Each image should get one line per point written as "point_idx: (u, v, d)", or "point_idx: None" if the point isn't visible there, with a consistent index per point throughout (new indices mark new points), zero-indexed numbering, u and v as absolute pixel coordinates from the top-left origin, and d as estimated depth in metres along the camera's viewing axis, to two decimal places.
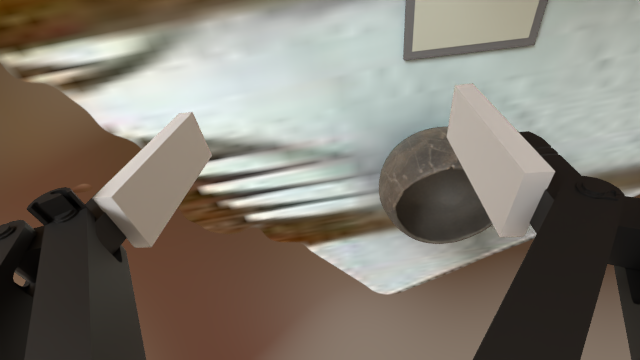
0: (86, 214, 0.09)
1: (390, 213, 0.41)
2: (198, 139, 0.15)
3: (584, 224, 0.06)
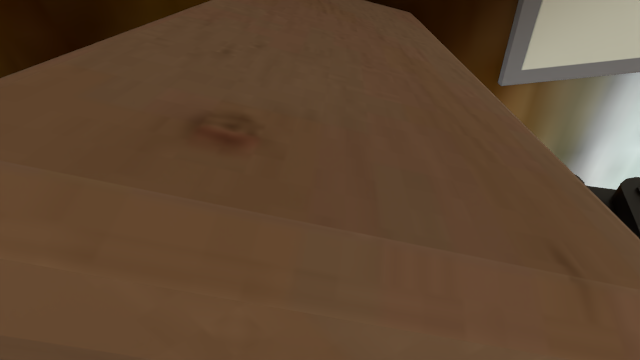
0: None
1: None
2: None
3: None
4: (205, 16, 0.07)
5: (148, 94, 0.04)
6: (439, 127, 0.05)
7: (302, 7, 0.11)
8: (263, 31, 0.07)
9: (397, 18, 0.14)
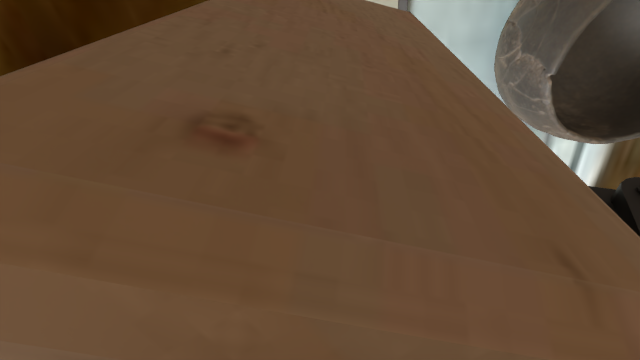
0: None
1: None
2: None
3: None
4: (204, 15, 0.07)
5: (147, 94, 0.04)
6: (440, 127, 0.05)
7: (302, 7, 0.11)
8: (262, 30, 0.07)
9: (397, 18, 0.14)
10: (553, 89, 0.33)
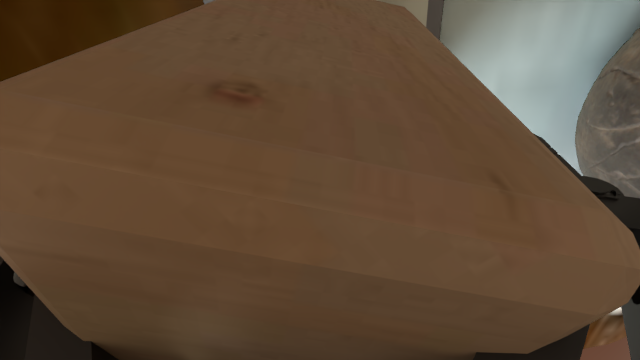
0: None
1: None
2: None
3: None
4: (215, 11, 0.08)
5: (175, 68, 0.05)
6: (414, 95, 0.06)
7: (301, 3, 0.12)
8: (265, 23, 0.08)
9: (391, 12, 0.15)
10: None
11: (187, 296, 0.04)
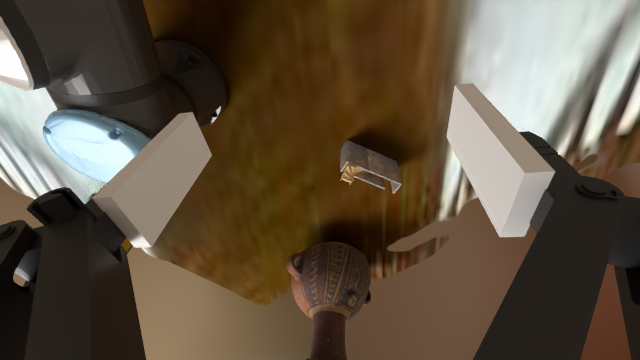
0: (86, 214, 0.09)
1: None
2: (198, 139, 0.15)
3: (584, 224, 0.06)
4: None
5: None
6: None
7: None
8: None
9: None
10: None
11: None
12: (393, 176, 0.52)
